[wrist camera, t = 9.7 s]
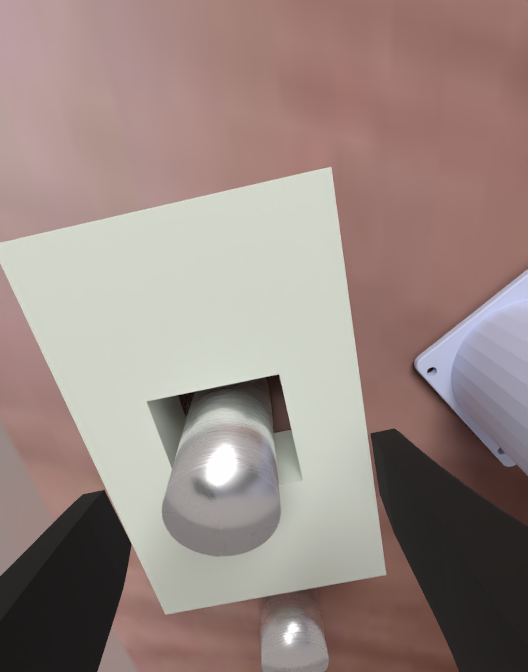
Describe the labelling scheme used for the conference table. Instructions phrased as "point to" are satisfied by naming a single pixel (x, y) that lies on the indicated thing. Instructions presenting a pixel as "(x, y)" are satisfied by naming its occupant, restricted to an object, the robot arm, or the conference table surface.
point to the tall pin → (225, 472)
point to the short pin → (292, 633)
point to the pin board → (213, 371)
